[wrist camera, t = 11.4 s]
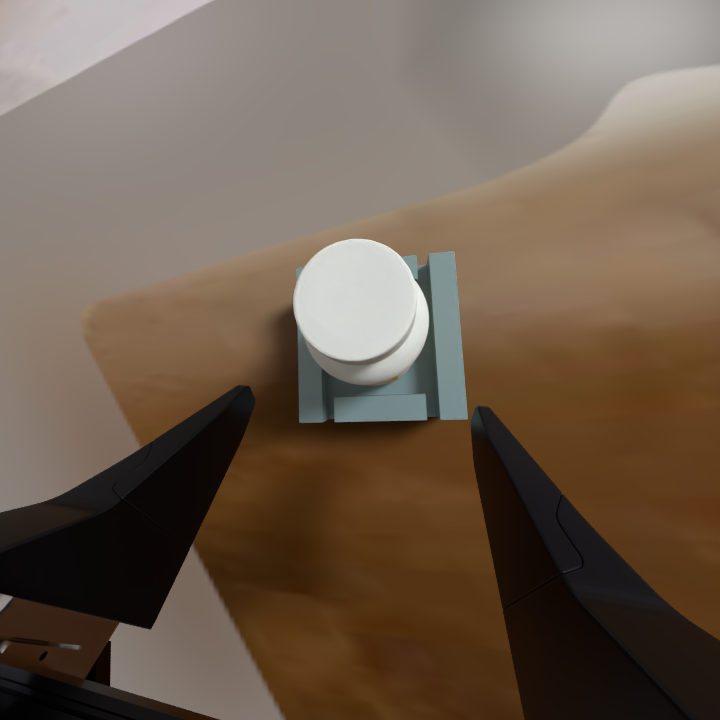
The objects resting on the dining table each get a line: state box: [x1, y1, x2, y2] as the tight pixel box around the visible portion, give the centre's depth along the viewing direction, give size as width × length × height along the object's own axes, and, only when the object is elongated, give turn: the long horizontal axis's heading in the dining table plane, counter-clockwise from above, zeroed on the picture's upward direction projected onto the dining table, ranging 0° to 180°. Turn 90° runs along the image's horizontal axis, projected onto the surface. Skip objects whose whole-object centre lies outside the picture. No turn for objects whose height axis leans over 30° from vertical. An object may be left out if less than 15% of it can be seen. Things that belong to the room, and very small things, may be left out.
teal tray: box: [296, 251, 468, 423], centre depth 18 cm, size 10×10×4 cm
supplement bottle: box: [293, 239, 429, 386], centre depth 13 cm, size 5×5×10 cm
